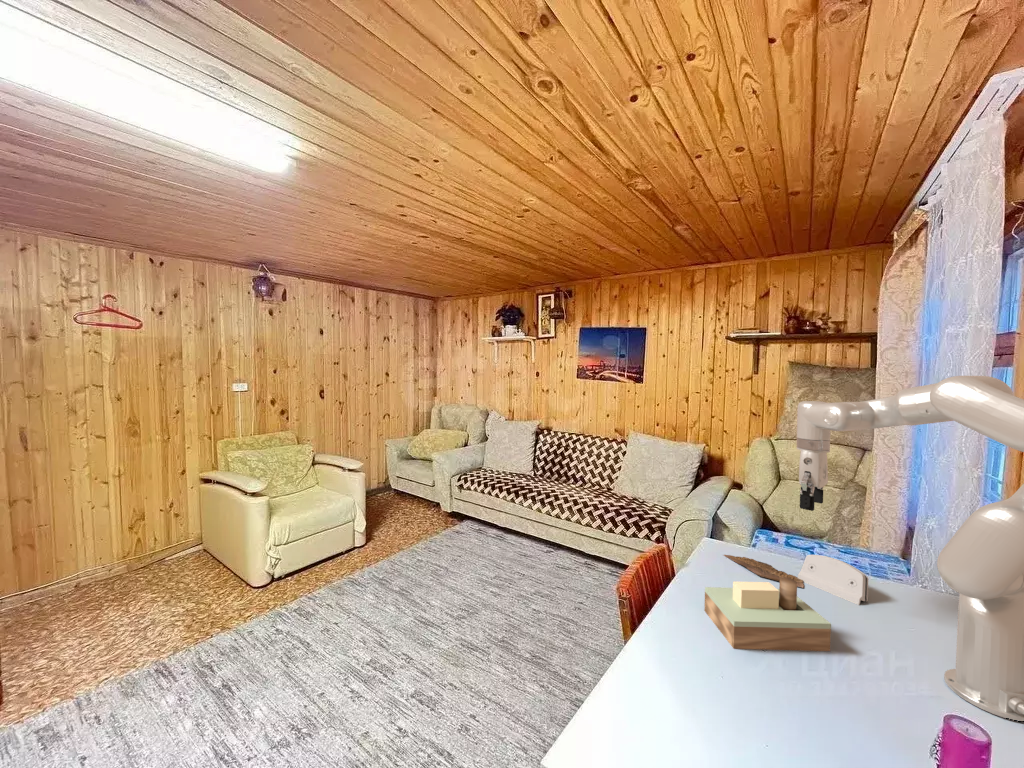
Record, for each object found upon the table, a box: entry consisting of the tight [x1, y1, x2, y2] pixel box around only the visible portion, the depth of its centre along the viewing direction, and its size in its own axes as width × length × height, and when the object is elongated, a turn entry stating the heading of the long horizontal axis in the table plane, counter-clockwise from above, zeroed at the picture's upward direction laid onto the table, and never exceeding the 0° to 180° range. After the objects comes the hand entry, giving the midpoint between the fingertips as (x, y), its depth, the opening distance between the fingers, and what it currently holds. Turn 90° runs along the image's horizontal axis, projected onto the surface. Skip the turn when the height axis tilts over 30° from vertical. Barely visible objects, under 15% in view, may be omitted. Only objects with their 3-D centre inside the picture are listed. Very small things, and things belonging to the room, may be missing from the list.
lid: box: [704, 581, 832, 630], centre depth 101 cm, size 15×22×6 cm
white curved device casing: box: [797, 554, 869, 606], centre depth 123 cm, size 17×5×10 cm, turn 27°
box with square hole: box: [703, 591, 832, 652], centre depth 101 cm, size 15×22×6 cm
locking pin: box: [778, 577, 798, 611], centre depth 101 cm, size 4×4×12 cm
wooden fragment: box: [723, 554, 806, 589], centre depth 134 cm, size 26×11×1 cm, turn 27°
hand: (811, 505), depth 114 cm, fingers open, 9 cm apart
